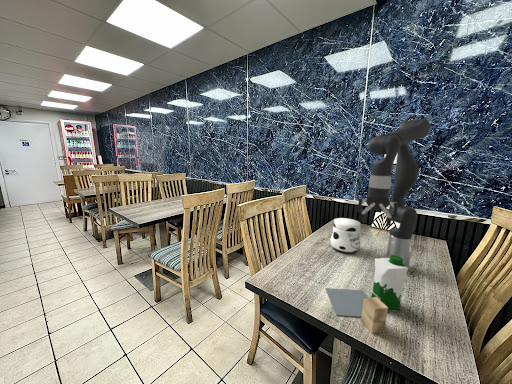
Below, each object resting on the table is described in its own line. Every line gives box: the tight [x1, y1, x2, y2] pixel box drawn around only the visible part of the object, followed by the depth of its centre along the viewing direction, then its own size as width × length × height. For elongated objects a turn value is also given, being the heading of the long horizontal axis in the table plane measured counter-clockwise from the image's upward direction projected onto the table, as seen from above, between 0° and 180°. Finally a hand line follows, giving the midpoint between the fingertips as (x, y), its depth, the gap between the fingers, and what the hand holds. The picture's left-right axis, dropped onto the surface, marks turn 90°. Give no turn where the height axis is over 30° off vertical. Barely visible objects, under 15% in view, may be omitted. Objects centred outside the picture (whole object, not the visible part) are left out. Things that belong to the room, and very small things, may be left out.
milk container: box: [330, 217, 362, 254], centre depth 125 cm, size 17×17×18 cm
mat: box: [325, 287, 369, 318], centre depth 79 cm, size 16×15×1 cm
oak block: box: [360, 297, 389, 334], centre depth 68 cm, size 5×5×9 cm
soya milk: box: [370, 255, 409, 312], centre depth 77 cm, size 9×9×20 cm
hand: (374, 224), depth 84 cm, fingers open, 8 cm apart
